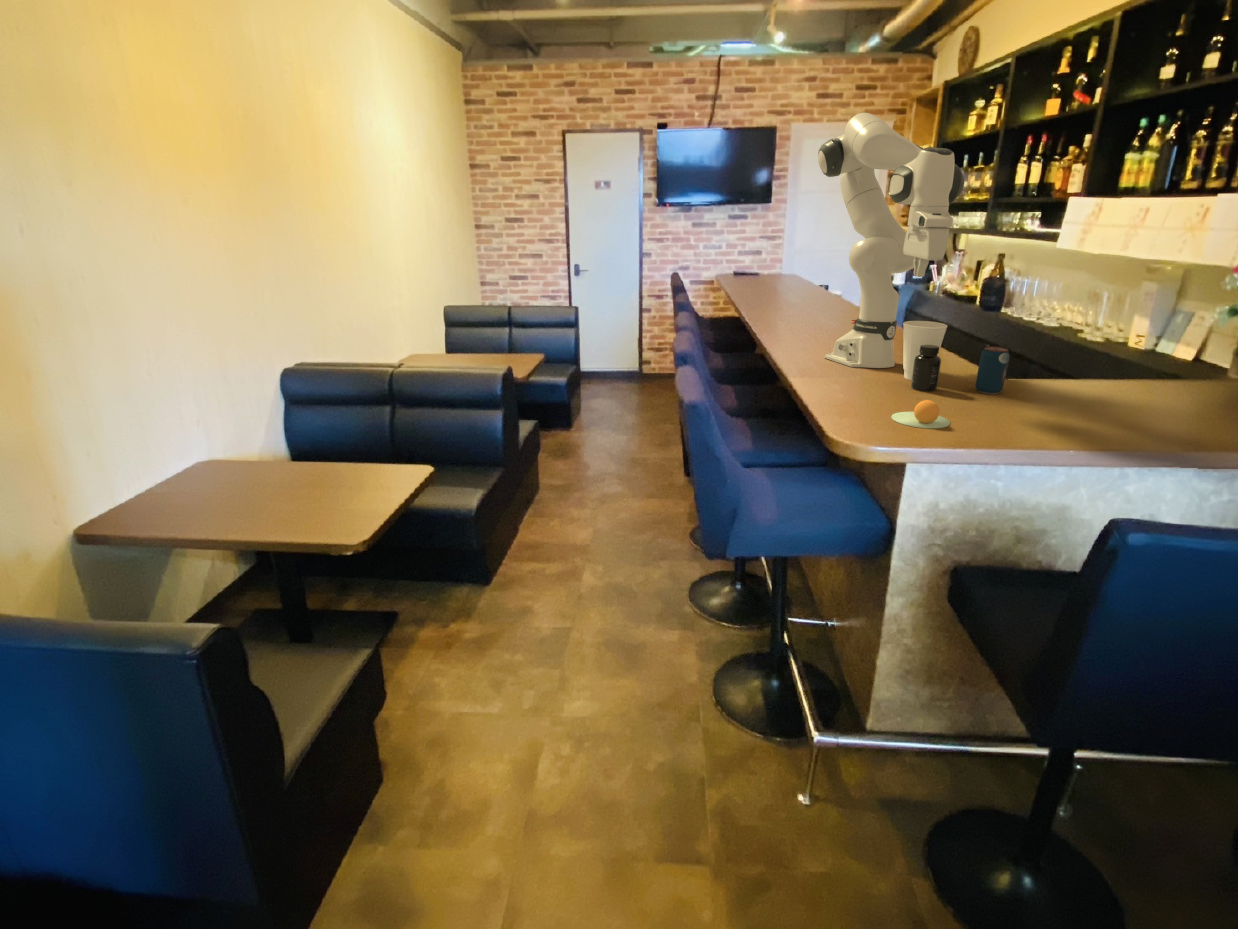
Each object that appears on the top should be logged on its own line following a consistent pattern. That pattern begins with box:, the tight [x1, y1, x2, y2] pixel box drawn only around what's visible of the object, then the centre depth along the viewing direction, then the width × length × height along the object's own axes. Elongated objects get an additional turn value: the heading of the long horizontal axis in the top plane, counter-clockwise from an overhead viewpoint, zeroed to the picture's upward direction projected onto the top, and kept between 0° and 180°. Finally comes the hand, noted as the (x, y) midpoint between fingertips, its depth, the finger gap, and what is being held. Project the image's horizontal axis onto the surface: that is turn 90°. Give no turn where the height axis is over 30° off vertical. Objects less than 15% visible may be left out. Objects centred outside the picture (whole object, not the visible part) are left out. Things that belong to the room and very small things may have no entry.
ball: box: [913, 399, 940, 423], centre depth 163 cm, size 6×6×6 cm
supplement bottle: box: [910, 345, 942, 392], centre depth 192 cm, size 7×7×12 cm
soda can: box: [974, 345, 1011, 395], centre depth 190 cm, size 7×7×12 cm
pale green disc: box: [890, 411, 951, 429], centre depth 166 cm, size 13×13×1 cm
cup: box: [902, 320, 948, 381], centre depth 203 cm, size 12×12×16 cm
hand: (918, 276), depth 177 cm, fingers closed
